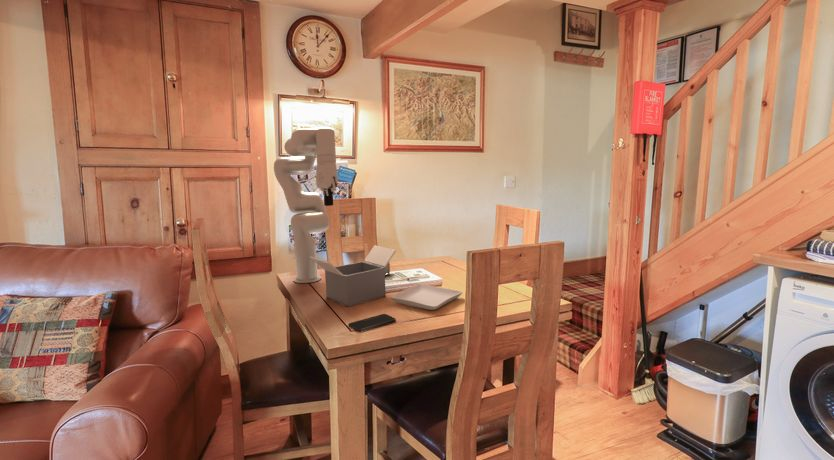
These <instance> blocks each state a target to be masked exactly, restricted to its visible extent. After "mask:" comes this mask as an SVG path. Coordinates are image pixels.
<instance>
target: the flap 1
mask: <svg viewBox="0 0 834 460" xmlns="http://www.w3.org/2000/svg"><path fill="white" fill-rule="evenodd" d="M310 258H311V259H312V260H313V261H314V262H316V263H317V266H319V267H320V268H321V269H323V270H324V271H325V270H327V271H330V272H332V273H335V274H338V275H341V276H343V274H342V273H341V272H340V271H339V270H338V269H337V268H335V267H336V266H335V265H334V264H332V263H331V262H329V261H327V260H324V259H320V258H318V257H316V258H315V257H311V256H310Z"/></svg>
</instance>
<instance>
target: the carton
mask: <svg viewBox="0 0 834 460" xmlns="http://www.w3.org/2000/svg"><path fill="white" fill-rule="evenodd" d="M334 267H335V268H337V269H338V270H339V271H340V272H341V273H342V274H343V276H341V275H338V274H335V273H332V272H330V271H327V270H324V276H325V277H324V278H325V293H326V299H329V300H331V301H333V302H335V303H338V304H340V305H341V306H345V307H346V308H348V307H353V306H356V305H360V304H363V303H366V302H370V301H374V300H379V299H382V298H385V297H386V296H387V295H386V275H385V268H384V267H380V266H377V265H373V264H372V263H369V262H366V261H358V262H354V263H353V262H352V263H347V264H342V265H337V266H334Z"/></svg>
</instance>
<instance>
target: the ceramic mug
mask: <svg viewBox="0 0 834 460" xmlns="http://www.w3.org/2000/svg"><path fill="white" fill-rule="evenodd" d="M371 264H373V263H371ZM373 265H376V264H373ZM377 266H380V265H377ZM380 267H383V266H380ZM384 268H385V274H386V273H389V274H390V271H391V265H390V261H389V262H388V264H387V265H386V267H384Z"/></svg>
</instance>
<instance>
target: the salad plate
mask: <svg viewBox="0 0 834 460" xmlns="http://www.w3.org/2000/svg"><path fill="white" fill-rule="evenodd" d="M462 294H463V291H460V290H455V289H451V288H445V287H444V288H443V287H438V286H434V285H426V284H417V285H414V286H411V287H409V288H406V289H404V290H402V291H399V292H397V293H395V294H392V295H390V296H389V299H390V300H392V301H393V302H395V303H398V304H401V305H403V306H408V307H409V306H410V307H414V308H418V309H422V310H428V311H429V310H430V311H435V310H437V309H439V308H440V307H443V306H444V305H446V304H448V303H449V302H452V301H453V300H455V299H457V298H459V297H460V296H461V295H462Z"/></svg>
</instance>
